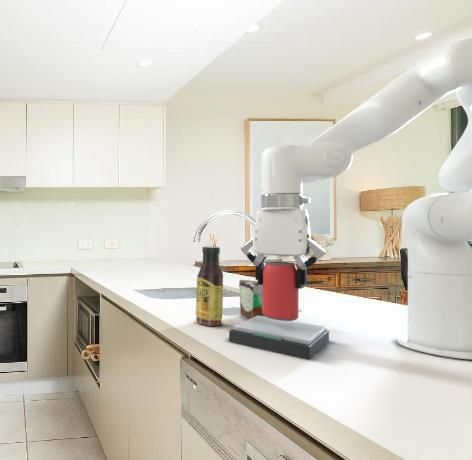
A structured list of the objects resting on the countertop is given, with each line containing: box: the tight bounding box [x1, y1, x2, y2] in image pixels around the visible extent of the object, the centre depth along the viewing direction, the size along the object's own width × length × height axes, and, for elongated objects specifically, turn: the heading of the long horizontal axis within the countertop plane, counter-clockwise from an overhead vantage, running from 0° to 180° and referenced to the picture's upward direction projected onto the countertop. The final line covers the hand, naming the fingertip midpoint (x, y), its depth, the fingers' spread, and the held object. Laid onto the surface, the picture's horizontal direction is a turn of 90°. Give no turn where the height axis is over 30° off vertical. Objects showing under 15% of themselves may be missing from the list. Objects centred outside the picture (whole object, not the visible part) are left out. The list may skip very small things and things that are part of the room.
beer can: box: [262, 261, 300, 321], centre depth 77 cm, size 7×7×12 cm
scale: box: [228, 316, 330, 360], centre depth 77 cm, size 17×14×3 cm
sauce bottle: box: [195, 245, 224, 327], centre depth 91 cm, size 6×6×20 cm
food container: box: [238, 279, 265, 321], centre depth 95 cm, size 12×6×10 cm, turn 168°
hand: (280, 285), depth 77 cm, fingers closed on beer can, 6 cm apart
